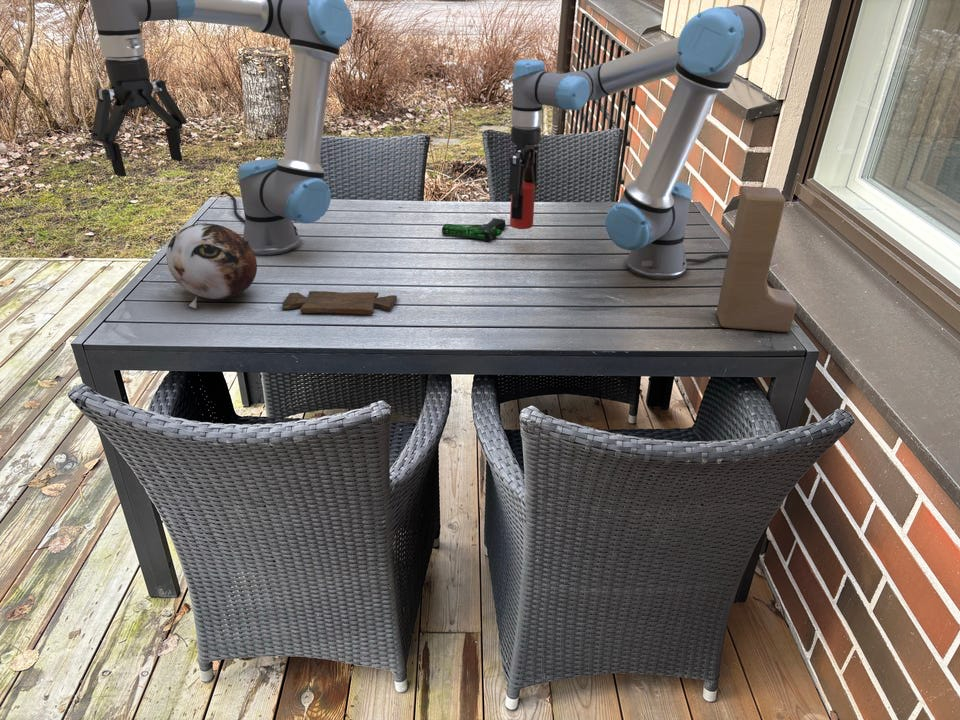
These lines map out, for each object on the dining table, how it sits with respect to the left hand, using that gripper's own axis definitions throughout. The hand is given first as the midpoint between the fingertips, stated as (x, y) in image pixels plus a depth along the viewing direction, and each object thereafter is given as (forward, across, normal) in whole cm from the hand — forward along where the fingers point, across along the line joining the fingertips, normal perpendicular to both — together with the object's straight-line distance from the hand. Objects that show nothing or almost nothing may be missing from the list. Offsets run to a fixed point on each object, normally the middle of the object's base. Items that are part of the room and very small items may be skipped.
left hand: (149, 167), depth 149 cm
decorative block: (+32, +63, -114) cm, 134 cm away
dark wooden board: (+32, +20, -31) cm, 49 cm away
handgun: (+32, +78, -32) cm, 90 cm away
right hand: (+22, +73, -49) cm, 91 cm away
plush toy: (+32, +8, -4) cm, 33 cm away
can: (+25, +73, -49) cm, 92 cm away
